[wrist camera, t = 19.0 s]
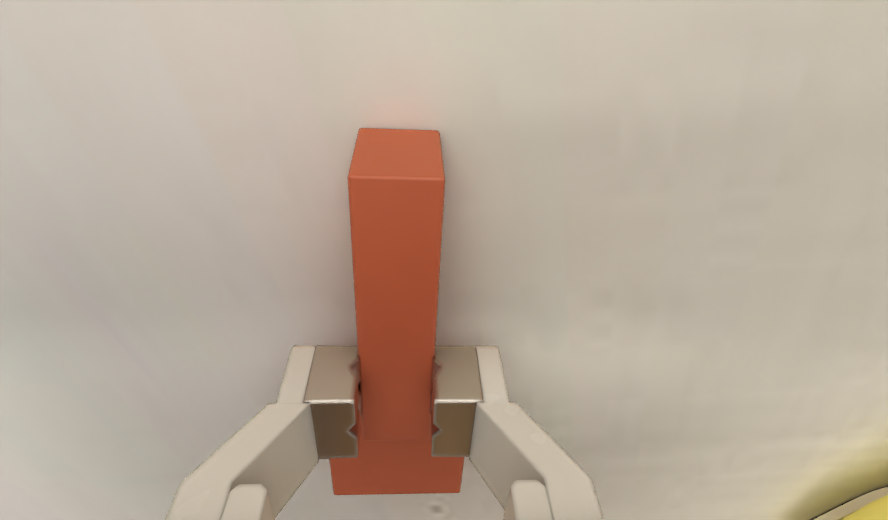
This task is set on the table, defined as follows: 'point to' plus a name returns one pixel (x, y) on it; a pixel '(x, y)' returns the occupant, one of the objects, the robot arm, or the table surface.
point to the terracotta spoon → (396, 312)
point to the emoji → (861, 508)
